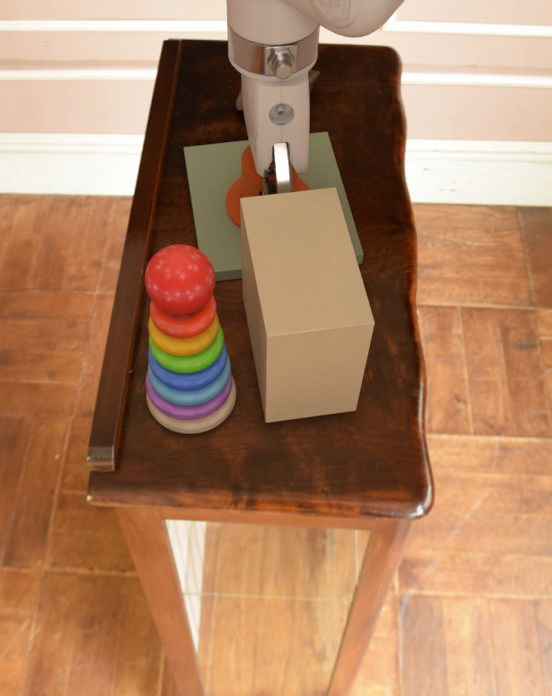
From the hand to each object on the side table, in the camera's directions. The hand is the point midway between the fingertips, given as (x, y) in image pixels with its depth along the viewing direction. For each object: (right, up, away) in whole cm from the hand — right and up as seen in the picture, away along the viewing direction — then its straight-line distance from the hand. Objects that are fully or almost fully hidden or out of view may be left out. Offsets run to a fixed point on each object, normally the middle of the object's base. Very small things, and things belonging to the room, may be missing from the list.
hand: (269, 196), depth 79 cm
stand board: (0, -1, +3) cm, 3 cm away
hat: (0, -1, +1) cm, 1 cm away
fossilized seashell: (+1, +13, +11) cm, 18 cm away
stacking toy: (-7, -21, -9) cm, 24 cm away
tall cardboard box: (+2, -17, -7) cm, 18 cm away
